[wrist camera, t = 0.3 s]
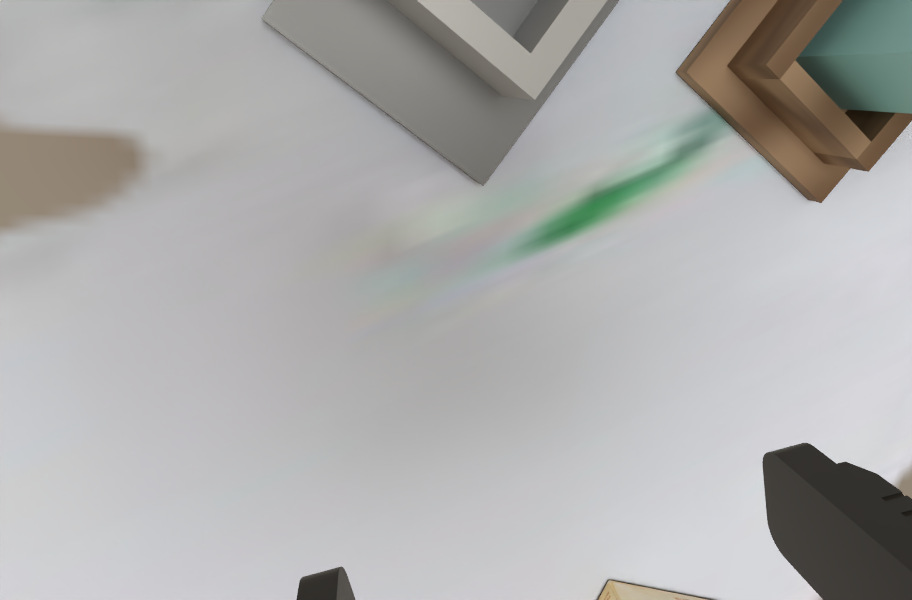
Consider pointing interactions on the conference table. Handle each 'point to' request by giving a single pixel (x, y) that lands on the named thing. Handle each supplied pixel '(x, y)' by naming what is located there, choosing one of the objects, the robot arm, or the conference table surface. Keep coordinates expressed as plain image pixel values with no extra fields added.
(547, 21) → the box
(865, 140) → the brown open square box
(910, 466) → the conference table surface
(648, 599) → the coffeecake box
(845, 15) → the plug
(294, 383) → the conference table surface
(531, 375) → the conference table surface
